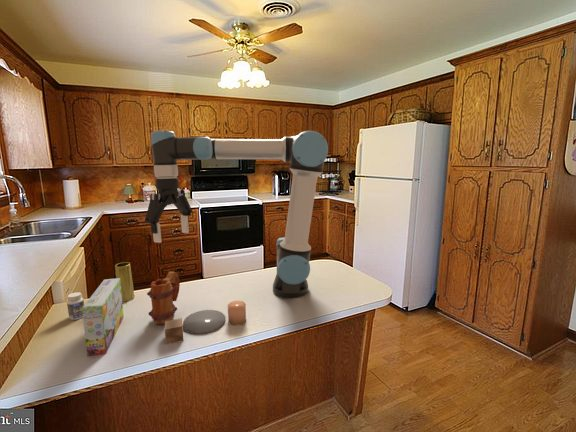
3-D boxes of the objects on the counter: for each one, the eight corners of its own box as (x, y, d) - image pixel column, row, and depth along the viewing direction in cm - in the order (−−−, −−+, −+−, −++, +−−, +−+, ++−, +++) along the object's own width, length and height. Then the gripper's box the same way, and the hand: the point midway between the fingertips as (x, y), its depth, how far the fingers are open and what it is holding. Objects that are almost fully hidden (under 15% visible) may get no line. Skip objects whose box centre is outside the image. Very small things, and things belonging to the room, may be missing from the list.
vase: (118, 303, 116) (114, 268, 113) (117, 297, 121) (113, 263, 119) (135, 299, 119) (132, 265, 117) (133, 293, 125) (130, 260, 122)
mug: (166, 328, 99) (162, 286, 96) (144, 326, 101) (140, 284, 98) (189, 307, 113) (186, 269, 110) (169, 305, 115) (166, 268, 112)
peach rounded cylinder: (246, 316, 107) (246, 300, 106) (244, 325, 101) (244, 309, 100) (230, 316, 107) (229, 300, 106) (226, 325, 101) (226, 309, 100)
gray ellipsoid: (228, 311, 110) (228, 309, 110) (220, 333, 96) (220, 331, 96) (190, 311, 110) (190, 309, 110) (177, 334, 96) (176, 331, 96)
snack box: (108, 353, 87) (102, 305, 84) (86, 357, 85) (79, 308, 82) (125, 316, 107) (120, 276, 104) (107, 319, 105) (102, 278, 102)
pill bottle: (75, 321, 104) (72, 298, 102) (66, 318, 105) (62, 296, 104) (88, 314, 108) (85, 292, 106) (79, 312, 110) (76, 290, 108)
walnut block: (183, 332, 97) (182, 318, 96) (183, 340, 93) (182, 326, 92) (166, 335, 96) (165, 321, 95) (166, 344, 91) (164, 329, 90)
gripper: (183, 175, 116) (187, 228, 120) (127, 180, 94) (135, 245, 98) (199, 175, 113) (203, 229, 118) (145, 180, 91) (152, 248, 95)
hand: (172, 237), depth 108 cm, fingers open, 13 cm apart
